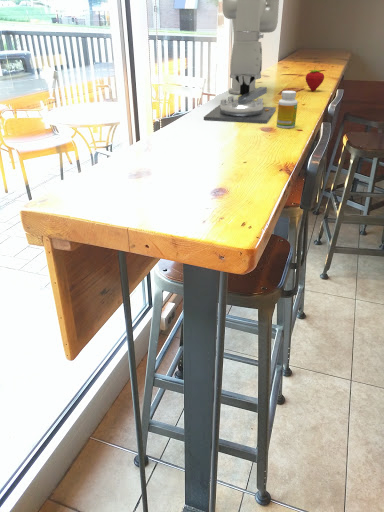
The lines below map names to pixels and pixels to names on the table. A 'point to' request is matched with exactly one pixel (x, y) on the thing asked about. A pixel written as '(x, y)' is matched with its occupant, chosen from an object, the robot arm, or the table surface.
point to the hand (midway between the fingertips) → (244, 96)
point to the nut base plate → (260, 118)
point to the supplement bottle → (287, 110)
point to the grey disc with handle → (244, 104)
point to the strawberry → (314, 79)
